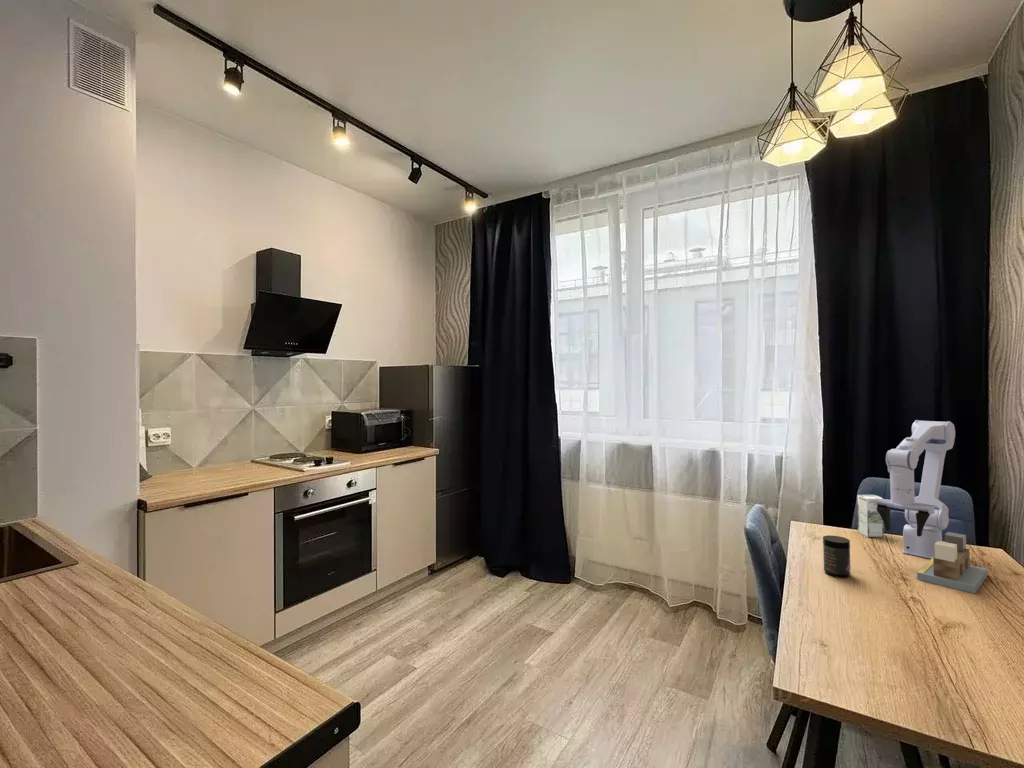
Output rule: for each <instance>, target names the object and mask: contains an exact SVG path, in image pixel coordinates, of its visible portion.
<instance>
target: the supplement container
mask: <svg viewBox="0 0 1024 768" xmlns="http://www.w3.org/2000/svg"><path fill="white" fill-rule="evenodd" d="M822 548H823V550H822V552H823V553H822V555H823V571H824V573H825V574H827V575H829V576H831V577H834V578H840V579H841V578H849V577H850V576H851V572H852V570H851V540H850V539H848V538H847V537H843V536H838V535H823V536H822Z"/></svg>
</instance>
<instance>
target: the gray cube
mask: <svg viewBox="0 0 1024 768" xmlns="http://www.w3.org/2000/svg"><path fill="white" fill-rule="evenodd" d="M944 542H947V543H953V544H957V551H962V552H964V551H965V549H967V535H966V534H963V533H962V534H961V533H957V532H951V531H947V532H946V533H945V534H944Z"/></svg>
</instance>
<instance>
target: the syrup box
mask: <svg viewBox="0 0 1024 768" xmlns="http://www.w3.org/2000/svg"><path fill="white" fill-rule="evenodd" d="M874 498H878V499H884V498H883V497H881V496H879V495H876V494H857V533H858V532H859V534H860V535H862V536H863V537H867V538H884V537H885V534H884V533H885V531H884V529H885V525H884V522H883V520H882V518H881V516H880V514H879V513H878V511H877V509H876V508H877V506H876V505H873V499H874Z"/></svg>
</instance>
